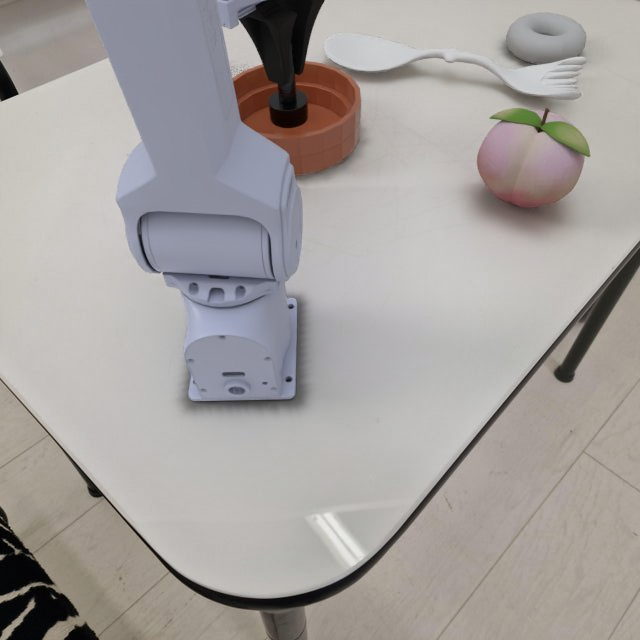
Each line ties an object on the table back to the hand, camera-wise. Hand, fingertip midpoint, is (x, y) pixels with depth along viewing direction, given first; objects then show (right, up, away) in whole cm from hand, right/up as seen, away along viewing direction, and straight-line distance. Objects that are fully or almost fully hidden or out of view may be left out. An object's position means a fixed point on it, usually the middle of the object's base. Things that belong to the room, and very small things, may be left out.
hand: (285, 76), depth 50 cm
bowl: (0, -3, +8) cm, 9 cm away
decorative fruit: (+23, -12, +1) cm, 26 cm away
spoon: (+19, +7, +15) cm, 25 cm away
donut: (+33, +12, +19) cm, 40 cm away
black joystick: (0, -3, +4) cm, 4 cm away
